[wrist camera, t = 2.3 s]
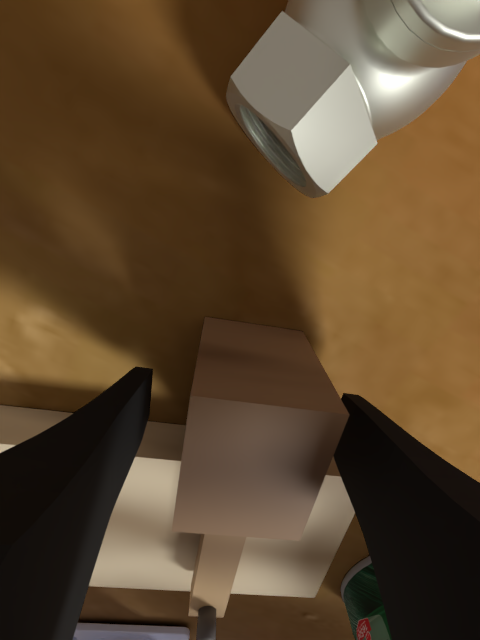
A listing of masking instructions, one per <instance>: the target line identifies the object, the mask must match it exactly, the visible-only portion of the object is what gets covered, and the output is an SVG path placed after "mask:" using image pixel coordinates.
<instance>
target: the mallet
mask: <svg viewBox="0 0 480 640" xmlns="http://www.w3.org/2000/svg"><path fill="white" fill-rule="evenodd" d="M348 417H349V413H348V411H347V409H346V408H345V406H344V404H343V402H342V400H341V399H340V397H339V395H338V393H337V391H336V390H335V388H334V386H333V384H332V383H331V381H330V379H329V377H328V375H327V374H326V372H325V370H324V368H323V366H322V365H321V363H320V361H319V359H318V358H317V356H316V354H315V352H314V350H313V349H312V347H311V345H310V343H309V341H308V340H307V338H306V336H305V334H304V333H303V331H298V330H291V329H284V328H277V327H271V326H264V325H257V324H250V323H244V322H237V321H230V320H223V319H217V318H210V317H205V319H204V324H203V329H202V335H201V340H200V346H199V351H198V356H197V362H196V367H195V373H194V378H193V383H192V389H191V394H190V401H189V408H188V415H187V423H186V430H185V437H184V445H183V452H182V459H181V466H180V474H179V481H178V488H177V496H176V503H175V510H174V517H173V525H172V532H184V533H198V534H201V536H200V541H199V546H198V551H197V556H196V561H195V567H194V572H193V577H192V582H191V591H190V601H189V612H188V616H197V617H198V623H197V637H196V640H216V617H221V618H223V617H224V614H225V610H226V607H227V603H228V600H229V596H230V593H231V589H232V586H233V582H234V579H235V575H236V572H237V568H238V565H239V561H240V558H241V554H242V551H243V547H244V544H245V540H246V537H254V538H268V539H282V540H295V541H300V539H301V537H302V534H303V532H304V529H305V526H306V524H307V521H308V519H309V516H310V514H311V511H312V509H313V506H314V504H315V501H316V499H317V496H318V493H319V491H320V488H321V486H322V483H323V481H324V478H325V476H326V473H327V471H328V468H329V466H330V463H331V460H332V458H333V455H334V453H335V450H336V448H337V445H338V443H339V440H340V438H341V435H342V433H343V430H344V428H345V425H346V422H347V420H348Z"/></svg>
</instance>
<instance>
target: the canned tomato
mask: <svg viewBox="0 0 480 640" xmlns="http://www.w3.org/2000/svg"><path fill="white" fill-rule="evenodd" d="M341 595H342V599H343V602H344V603H345V606H346V610H347V613H348V617H349V620H350V624H351V628H352V632H353V635H354V638H355V640H392V638H391V634H390V630H389V626H388V622H387V618H386V613H385V609H384V605H383V602H382V598H381V594H380V590H379V587H378V583H377V579H376V576H375V572H374V568H373V565H372V561H371V558H370V556H368V557H367V558H365V559H363V560H362V561H360V562H359V563H357V564H356V565H355V566H354V567H352V568H351V569H350V571H349V572H348V573H347V574H346V576H345V578H344V579H343V581H342V585H341Z"/></svg>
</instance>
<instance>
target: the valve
mask: <svg viewBox="0 0 480 640" xmlns="http://www.w3.org/2000/svg"><path fill="white" fill-rule="evenodd" d="M479 54H480V0H288V3H287V6H286V9H285V13H284V12H283V11H282V12H281V13H280V14H279V15H278V17H277V18H276V19H275V20H274V22H273V23H272V24H271V26H270V27H269V28H268V29H267V31H266V32H265V33H264V35H263V36H262V37H261V38H260V40H259V41H258V42H257V43H256V45H255V46H254V47H253V49H252V50H251V51H250V52H249V54H248V55H247V56H246V58H245V59H244V60H243V61H242V63H241V64H240V65H239V67H238V68H237V69H236V70H235V72H234V73H233V74H232V75H231V77H230V80H229V83H228V87H227V93H226V100H227V103H228V105H229V108H230V110H231V112H232V114H233V115H234V117H235V119H236V120H237V122H238V123H239V125H240V126H241V128H242V129H243V131H244V132H245V134H246V135H247V136H248V138H249V139H250V140H251V142H252V143H253V144H254V146H255V147H256V148H257V149H258V150H259V152H260V153H261V154H262V155H263V156H264V158H265V159H266V160H267V161H268V162H269V163H270V164H271V165H272V166H273V167H274V169H275V170H276V171H277V172H278V173H279V174H280V175H281V176H282V177H283V178H284V179H286V180H287V181H288V182H289V183H290V184H291V185H292V186H293V187H295V188H296V189H297V190H299V191H300V192H301V193H303V194H304V195H306V196H308V197H310V198H316V197H321V196H323V195H326V194H328V193H329V192H330V191H331V190H332V189H333V188H334V187H335V186H336V185H337V184H338V183H339V182H340V181H341V180H342V179H343V178H344V177H345V176H346V175H347V174H348V173H349V172H350V171H351V170H352V169H353V168H354V167H355V166H356V165H357V164H358V163H359V162H360V161H361V160H362V159H363V158H364V157H365V156H366V155H367V154H368V153H369V152H370V151H371V150H372V149H373V148H374V147H375V146H376V145H377V144H378V143H377V140H378V139H380V138H383V137H385V136H387V135H389V134H392V133H394V132H396V131H397V130H399V129H401V128H403V127H404V126H406V125H408V124H409V123H410V122H412V121H413V120H415V119H416V118H417V117H418V116H420V115H421V114H422V113H423V112H424V111H426V110H427V109H428V108H429V107H430V106H431V105H432V104H433V103H434V102H435V101H436V100H437V99H438V98H439V97H440V96H441V95H442V94H443V93H444V92H445V91H446V89H447V88H448V87H449V86H450V85H451V83H452V82H453V81H454V79H455V78H456V76H457V75H458V74H459V72H460V71H461V69H462V68H463V66H464V65H465V63H466V62H467V60H469V59H472V58H474V57H475V56H477V55H479Z"/></svg>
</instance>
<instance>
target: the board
mask: <svg viewBox="0 0 480 640" xmlns="http://www.w3.org/2000/svg"><path fill="white" fill-rule="evenodd" d="M72 414H73V413H68V412H59V411H50V410H41V409H31V408H22V407H13V406H4V405H0V453H1V452H3V451H5V450H7V449H9V448H11V447H13V446H16V445H18V444H20V443H22V442H24V441H26V440H28V439H30V438H32V437H34V436H36V435H38V434H39V433H41V432H43V431H45V430H47V429H48V428H50V427H52V426H54V425H55V424H57V423H59V422H61V421H62V420H64V419H65V418H67V417H69V416H70V415H72ZM185 430H186V425H178V424H169V423H160V422H150V421H147V425H146V428H145V432H144V435H143V439H142V441H141V444H140V446H139V449H138V451H137V454H136V456H135V458H134V461H133V463H132V466H131V468H130V470H129V473H128V475H127V477H126V480H125V482H124V484H123V487H122V489H121V492H120V494H119V496H118V499H117V501H116V504H115V506H114V509H113V512H112V514H111V517H110V520H109V523H108V526H107V529H106V532H105V535H104V539H103V542H102V545H101V548H100V551H99V554H98V557H97V561H96V564H95V567H94V570H93V574H92V577H91V580H90V583H89V586H95V587H114V588H133V589H153V590H172V591H191V582H192V577H193V572H194V567H195V561H196V556H197V551H198V546H199V541H200V536H201V534H198V533H184V532H172V525H173V517H174V510H175V503H176V496H177V488H178V481H179V474H180V466H181V459H182V452H183V445H184V437H185ZM354 514H355V511H354V508H353V506H352V503H351V501H350V498H349V496H348V493H347V491H346V488H345V486H344V483H343V481H342V478H341V476H340V473H339V471H338V468H337V465H336V463H335V460H334V456H333V458H332V460H331V463H330V466H329V468H328V471H327V473H326V476H325V478H324V481H323V483H322V486H321V488H320V491H319V493H318V496H317V499H316V501H315V504H314V506H313V509H312V511H311V514H310V516H309V519H308V521H307V524H306V526H305V529H304V532H303V534H302V537H301V539H300V541H295V540H282V539H268V538H254V537H246V540H245V544H244V547H243V551H242V554H241V558H240V561H239V565H238V568H237V572H236V575H235V579H234V582H233V586H232V589H231V594H250V595H270V596H289V597H308V598H315V596H316V594H317V592H318V590H319V588H320V586H321V583H322V581H323V579H324V577H325V575H326V573H327V571H328V569H329V567H330V565H331V563H332V560H333V558H334V556H335V554H336V552H337V550H338V548H339V546H340V544H341V542H342V539H343V537H344V535H345V533H346V531H347V529H348V527H349V525H350V523H351V521H352V519H353V516H354Z"/></svg>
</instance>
